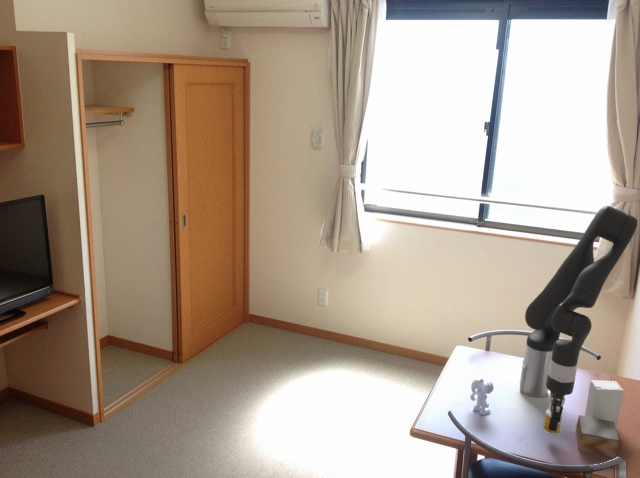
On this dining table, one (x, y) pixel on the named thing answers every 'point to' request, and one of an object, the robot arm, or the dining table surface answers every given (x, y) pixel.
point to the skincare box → (604, 400)
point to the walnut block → (597, 436)
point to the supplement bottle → (547, 421)
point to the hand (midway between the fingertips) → (552, 425)
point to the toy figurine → (481, 395)
